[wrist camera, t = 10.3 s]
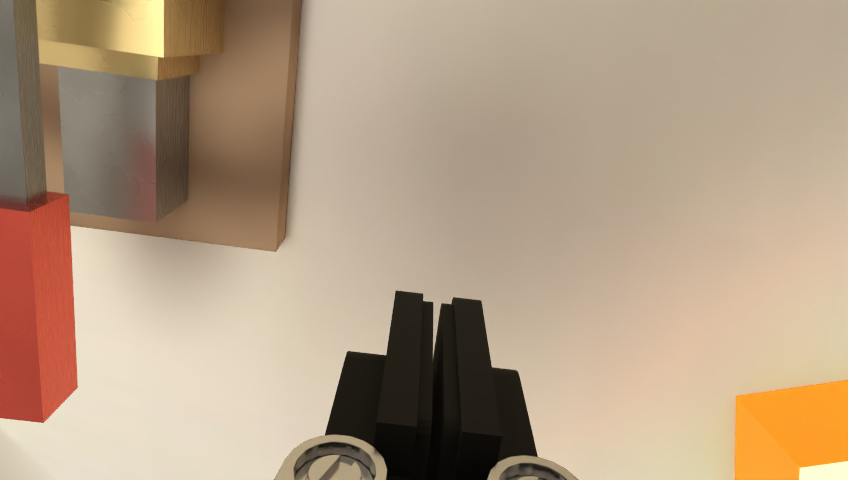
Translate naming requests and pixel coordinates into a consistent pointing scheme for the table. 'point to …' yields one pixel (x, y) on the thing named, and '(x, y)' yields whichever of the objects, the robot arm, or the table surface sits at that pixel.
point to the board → (221, 134)
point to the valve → (127, 97)
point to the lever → (31, 238)
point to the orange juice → (793, 434)
